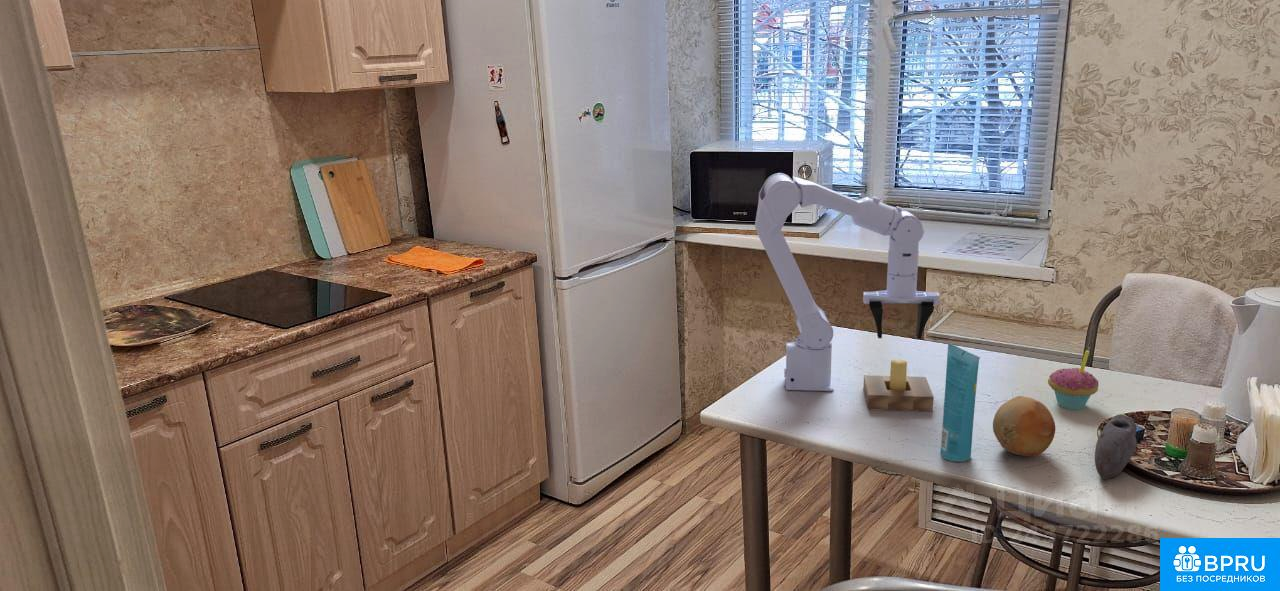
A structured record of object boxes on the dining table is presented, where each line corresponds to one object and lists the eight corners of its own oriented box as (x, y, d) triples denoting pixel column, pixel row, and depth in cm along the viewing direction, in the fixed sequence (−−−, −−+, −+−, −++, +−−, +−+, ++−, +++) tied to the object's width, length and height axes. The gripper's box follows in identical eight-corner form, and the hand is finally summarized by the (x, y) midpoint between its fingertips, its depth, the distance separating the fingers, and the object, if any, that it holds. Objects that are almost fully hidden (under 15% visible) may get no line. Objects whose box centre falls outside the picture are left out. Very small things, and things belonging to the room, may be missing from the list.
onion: (982, 456, 148) (986, 402, 145) (1001, 435, 155) (1006, 383, 152) (1042, 472, 142) (1048, 416, 139) (1059, 449, 149) (1065, 395, 146)
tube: (982, 461, 146) (991, 354, 141) (960, 468, 144) (969, 359, 139) (949, 444, 153) (956, 340, 147) (928, 450, 151) (935, 345, 145)
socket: (867, 409, 168) (868, 395, 167) (863, 389, 177) (863, 375, 176) (932, 411, 166) (933, 396, 165) (924, 390, 175) (925, 376, 174)
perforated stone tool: (1117, 490, 136) (1122, 450, 134) (1080, 481, 139) (1085, 441, 137) (1139, 454, 147) (1144, 416, 145) (1105, 446, 150) (1109, 409, 148)
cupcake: (1095, 399, 168) (1102, 341, 165) (1096, 417, 161) (1104, 356, 157) (1046, 393, 172) (1052, 336, 168) (1045, 410, 164) (1051, 350, 161)
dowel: (889, 402, 170) (891, 364, 168) (888, 396, 173) (890, 359, 171) (905, 403, 170) (907, 365, 167) (904, 397, 172) (906, 359, 170)
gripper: (866, 277, 170) (863, 343, 174) (943, 278, 168) (939, 344, 172) (863, 268, 177) (861, 331, 181) (937, 268, 175) (933, 332, 179)
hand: (898, 337), depth 177 cm, fingers open, 7 cm apart
